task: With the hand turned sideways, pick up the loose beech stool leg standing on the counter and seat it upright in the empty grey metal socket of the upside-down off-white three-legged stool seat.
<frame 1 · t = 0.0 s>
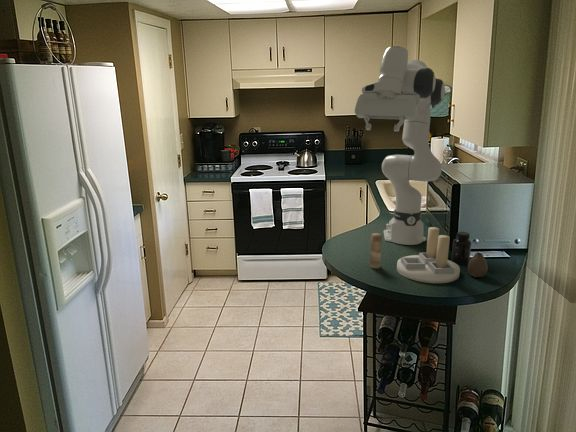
hand: (381, 130, 159), 54 cm above the worktop, tool tilted 30°, fingers open, 8 cm apart
stool leg: (374, 266, 190), on the worktop
supplement bottle: (460, 262, 196), on the worktop
vase: (476, 276, 182), on the worktop
stool seat: (427, 271, 185), on the worktop
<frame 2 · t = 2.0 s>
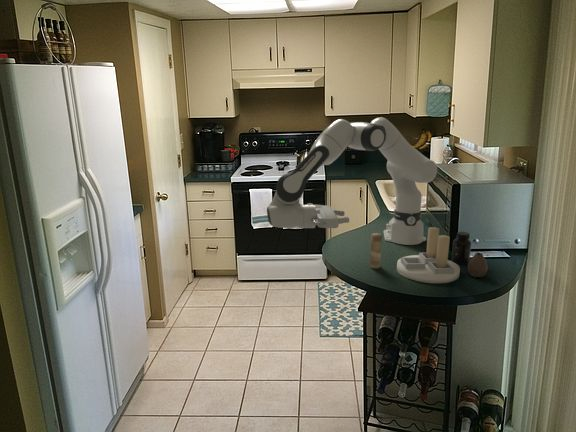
hand: (346, 216, 183), 20 cm above the worktop, tool horizontal, fingers open, 8 cm apart
nothing on the worktop moved.
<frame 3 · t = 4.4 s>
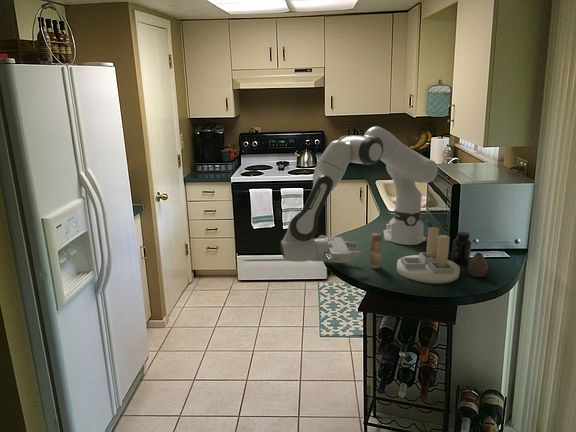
hand: (358, 249, 188), 7 cm above the worktop, tool horizontal, fingers open, 8 cm apart
nothing on the worktop moved.
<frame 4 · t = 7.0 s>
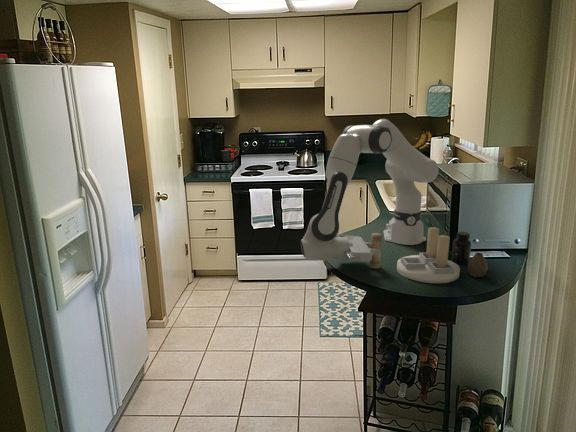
hand: (378, 248, 188), 8 cm above the worktop, tool horizontal, fingers closed on stool leg, 4 cm apart
stool leg: (374, 266, 190), on the worktop, touching gripper
everything else where it was.
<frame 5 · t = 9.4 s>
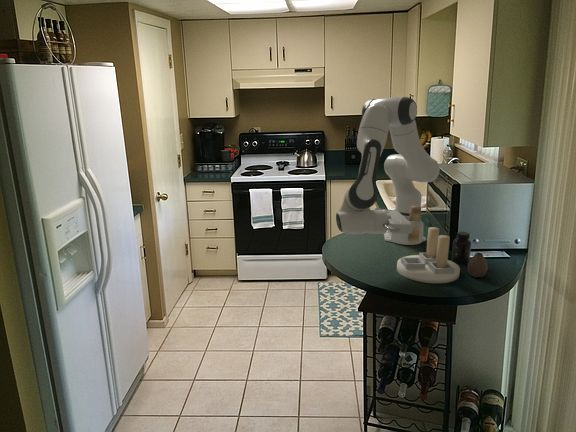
hand: (417, 221, 180), 20 cm above the worktop, tool horizontal, fingers closed on stool leg, 4 cm apart
stool leg: (413, 240, 182), point 12 cm above the worktop, touching gripper
everything else where it was.
when the fingers open (11 cm above the worktop, at t = 12.1 s): stool leg stays where it is, resting on stool seat.
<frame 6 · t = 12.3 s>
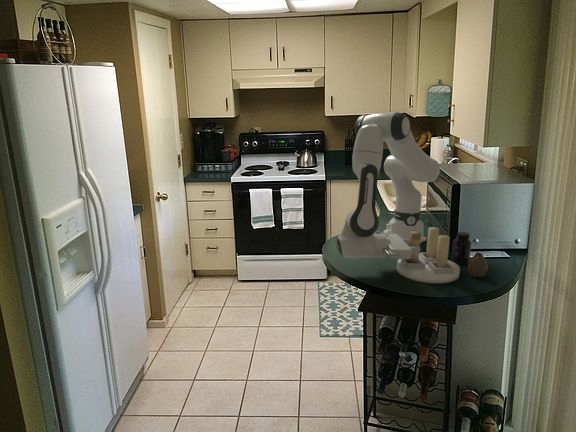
hand: (416, 245, 182), 11 cm above the worktop, tool horizontal, fingers open, 6 cm apart
stool leg: (412, 265, 184), point 3 cm above the worktop, touching stool seat
everything else where it was.
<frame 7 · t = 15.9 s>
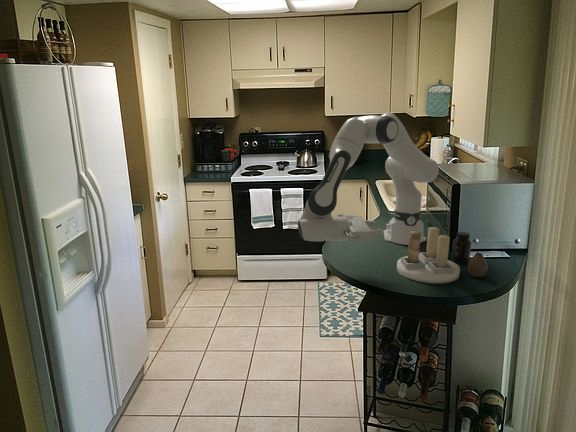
hand: (379, 227, 179), 18 cm above the worktop, tool horizontal, fingers open, 8 cm apart
nothing on the worktop moved.
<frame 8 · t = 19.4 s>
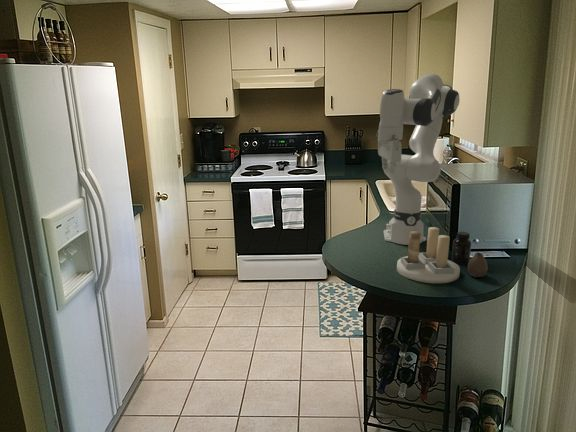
hand: (388, 170, 184), 37 cm above the worktop, tool pointing down, fingers open, 8 cm apart
nothing on the worktop moved.
at the end: stool leg 0.1 cm from the target spot on the stool seat, point 2.5 cm above the stool seat's base; stool leg tilted 0°; the gripper is holding nothing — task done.
